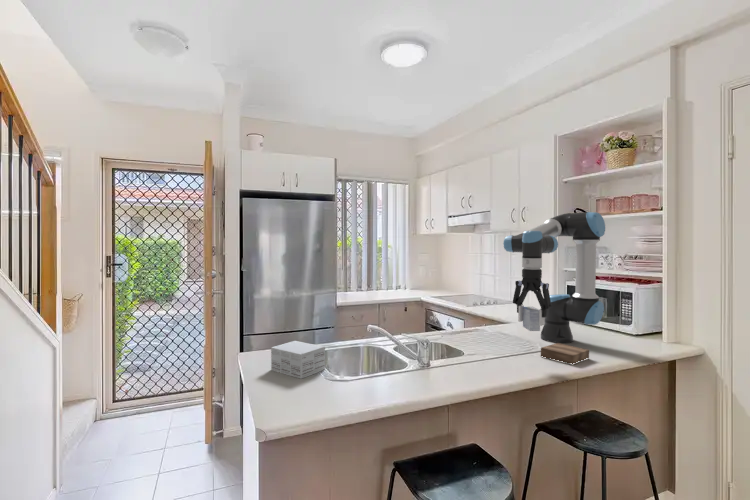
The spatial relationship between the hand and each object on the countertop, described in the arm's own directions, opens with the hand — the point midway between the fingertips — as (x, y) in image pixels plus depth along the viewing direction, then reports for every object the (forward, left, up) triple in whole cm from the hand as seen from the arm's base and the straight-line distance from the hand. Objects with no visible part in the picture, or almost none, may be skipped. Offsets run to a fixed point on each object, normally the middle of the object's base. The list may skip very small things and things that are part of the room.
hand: (531, 323), depth 163 cm
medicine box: (0, 0, -3) cm, 3 cm away
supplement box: (+81, -49, -17) cm, 96 cm away
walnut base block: (-20, +4, -17) cm, 26 cm away
